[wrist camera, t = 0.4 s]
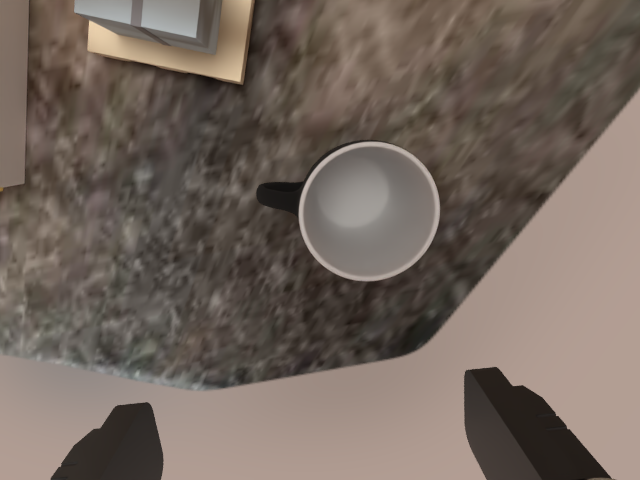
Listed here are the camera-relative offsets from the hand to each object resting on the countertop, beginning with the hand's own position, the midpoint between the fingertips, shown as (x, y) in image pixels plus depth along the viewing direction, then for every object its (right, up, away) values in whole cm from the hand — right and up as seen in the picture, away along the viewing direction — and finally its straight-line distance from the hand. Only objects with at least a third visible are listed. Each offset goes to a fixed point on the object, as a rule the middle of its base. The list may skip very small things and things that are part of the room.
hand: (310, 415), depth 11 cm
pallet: (-10, +21, +22) cm, 32 cm away
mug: (+1, +9, +26) cm, 27 cm away
